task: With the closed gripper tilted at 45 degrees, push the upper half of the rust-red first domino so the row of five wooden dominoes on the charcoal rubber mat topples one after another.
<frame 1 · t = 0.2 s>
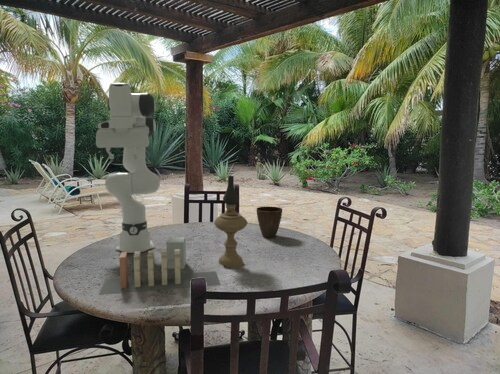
hand: (124, 158, 148), 48 cm above the table, tool pointing down, fingers open, 8 cm apart
supplement box: (176, 267, 160), on the table
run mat: (162, 283, 142), on the table
domino 1: (124, 284, 139), point 1 cm above the table, touching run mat
domino 5: (177, 280, 143), point 1 cm above the table, touching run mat
domino 3: (151, 282, 141), point 1 cm above the table, touching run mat
domino 4: (164, 281, 142), point 1 cm above the table, touching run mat
plant pot: (268, 236, 210), on the table
oil lamp: (230, 263, 165), on the table
domino 2: (138, 283, 140), point 1 cm above the table, touching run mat
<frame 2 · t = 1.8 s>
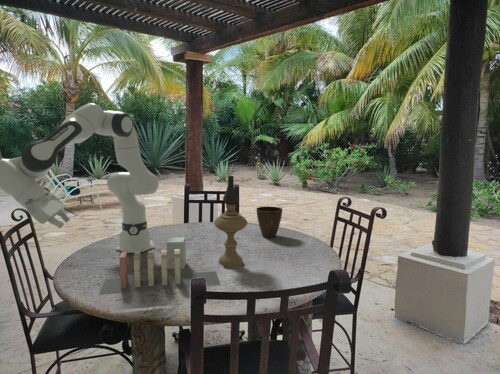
hand: (65, 223, 131), 26 cm above the table, tool tilted 45°, fingers open, 7 cm apart
nothing on the table moved.
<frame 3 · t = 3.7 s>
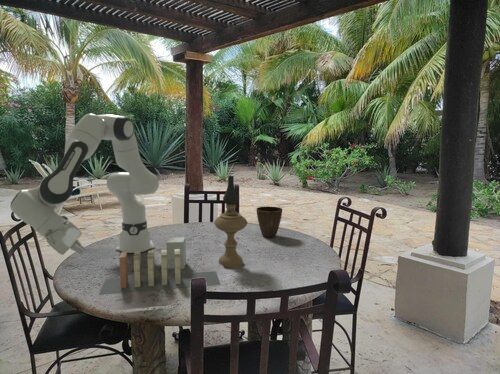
hand: (83, 251, 134), 15 cm above the table, tool tilted 45°, fingers closed
nothing on the table moved.
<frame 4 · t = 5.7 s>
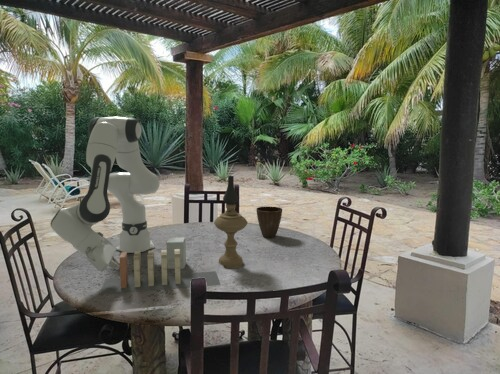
hand: (119, 267, 138), 8 cm above the table, tool tilted 45°, fingers closed, pressing on domino 1
domino 1: (124, 284, 139), point 1 cm above the table, touching gripper, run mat
everything else where it was.
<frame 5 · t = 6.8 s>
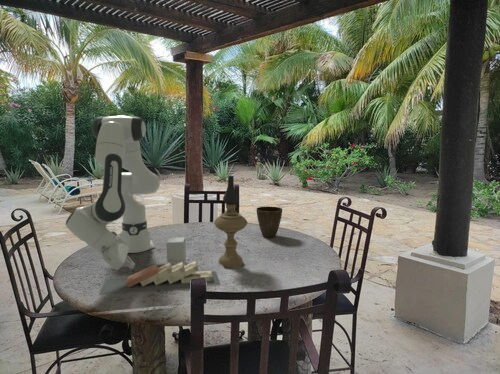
hand: (133, 266, 139), 8 cm above the table, tool tilted 45°, fingers closed
domino 1: (128, 282, 139), point 2 cm above the table, tilted 66°, touching domino 2, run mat
domino 5: (181, 278, 143), point 2 cm above the table, tilted 90°, touching domino 4, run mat
domino 3: (155, 280, 141), point 2 cm above the table, tilted 66°, touching domino 2, domino 4, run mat
domino 4: (168, 278, 142), point 2 cm above the table, tilted 66°, touching domino 3, domino 5
domino 2: (141, 281, 140), point 2 cm above the table, tilted 66°, touching domino 1, domino 3
everything else where it was.
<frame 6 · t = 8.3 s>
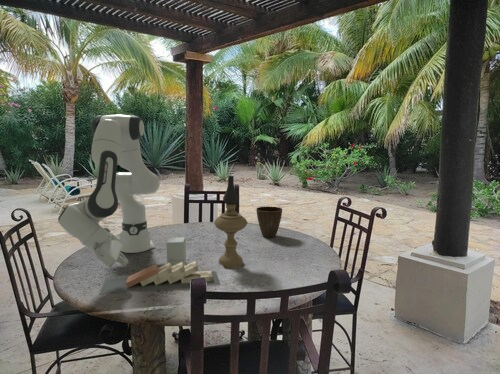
hand: (126, 263, 138), 9 cm above the table, tool tilted 45°, fingers closed
nothing on the table moved.
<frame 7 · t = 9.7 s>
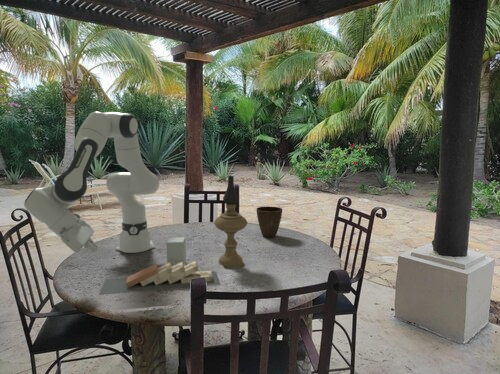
hand: (96, 249, 135), 15 cm above the table, tool tilted 45°, fingers closed
nothing on the table moved.
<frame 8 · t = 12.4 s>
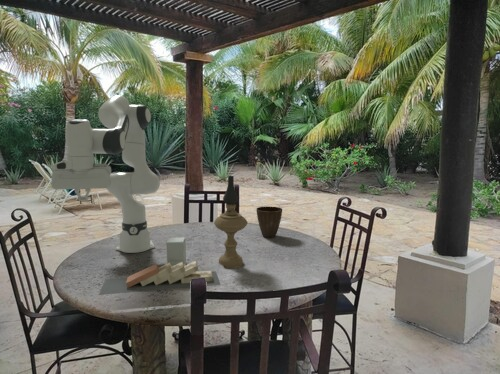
hand: (83, 200, 136), 33 cm above the table, tool pointing down, fingers closed
nothing on the table moved.
at the end: domino 1 tilted 66°; domino 3 tilted 66°; domino 5 tilted 90° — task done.
